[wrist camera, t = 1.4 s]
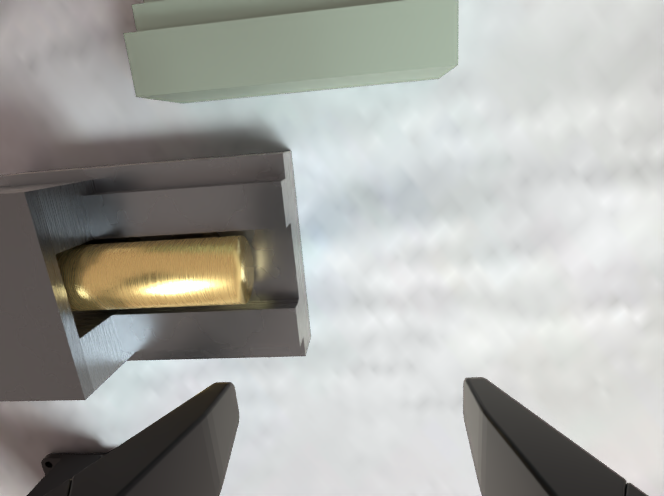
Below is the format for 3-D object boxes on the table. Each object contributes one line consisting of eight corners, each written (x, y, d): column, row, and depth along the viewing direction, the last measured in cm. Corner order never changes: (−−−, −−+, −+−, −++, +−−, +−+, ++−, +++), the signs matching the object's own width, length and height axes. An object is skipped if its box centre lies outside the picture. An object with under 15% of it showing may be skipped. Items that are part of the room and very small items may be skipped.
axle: (256, 295, 19) (235, 312, 16) (-8, 306, 21) (-72, 324, 18) (250, 232, 19) (228, 238, 16) (-18, 248, 20) (-84, 256, 17)
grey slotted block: (310, 336, 22) (291, 407, 16) (76, 343, 24) (-16, 410, 18) (291, 150, 19) (259, 159, 14) (26, 172, 21) (-101, 188, 15)
